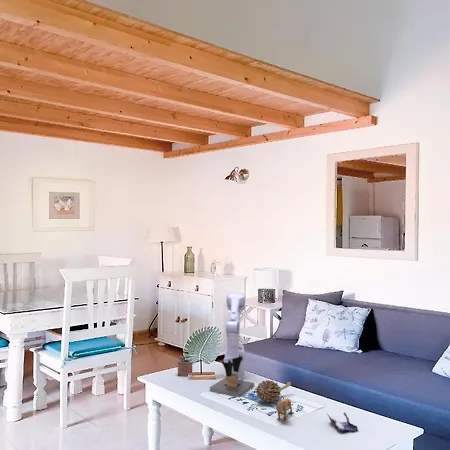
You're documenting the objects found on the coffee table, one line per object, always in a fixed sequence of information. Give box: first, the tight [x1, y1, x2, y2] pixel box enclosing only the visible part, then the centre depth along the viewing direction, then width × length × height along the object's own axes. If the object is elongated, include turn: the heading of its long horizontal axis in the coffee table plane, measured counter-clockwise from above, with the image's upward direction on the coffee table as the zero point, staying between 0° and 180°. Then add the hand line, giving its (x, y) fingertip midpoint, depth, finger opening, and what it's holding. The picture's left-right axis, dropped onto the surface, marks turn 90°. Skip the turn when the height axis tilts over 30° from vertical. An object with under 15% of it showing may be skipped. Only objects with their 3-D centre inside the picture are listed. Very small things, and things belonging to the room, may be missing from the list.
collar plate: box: [209, 377, 255, 398], centre depth 236 cm, size 16×16×2 cm
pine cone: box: [254, 379, 292, 403], centre depth 222 cm, size 22×10×10 cm, turn 136°
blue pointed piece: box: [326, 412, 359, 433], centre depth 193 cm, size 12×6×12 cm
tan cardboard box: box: [225, 374, 238, 388], centre depth 236 cm, size 3×5×7 cm, turn 63°
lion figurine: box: [276, 398, 293, 422], centre depth 202 cm, size 15×5×9 cm, turn 164°
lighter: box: [177, 356, 194, 378], centre depth 255 cm, size 8×3×10 cm, turn 84°
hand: (232, 373), depth 236 cm, fingers open, 7 cm apart
